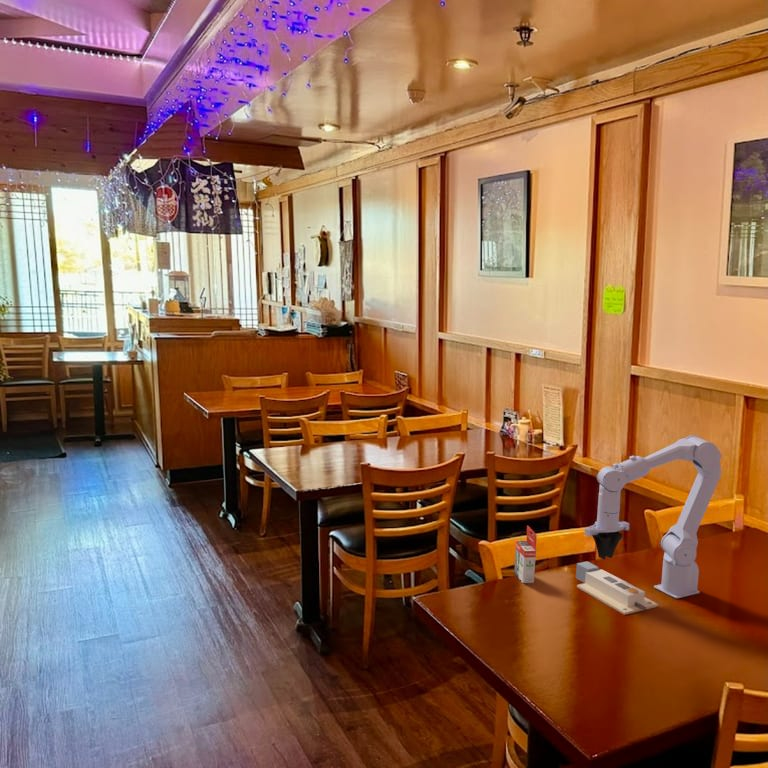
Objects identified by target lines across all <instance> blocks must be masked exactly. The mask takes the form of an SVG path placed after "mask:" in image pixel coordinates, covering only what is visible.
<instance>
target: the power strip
mask: <svg viewBox="0 0 768 768" xmlns="http://www.w3.org/2000/svg"><path fill="white" fill-rule="evenodd" d="M576 588H578V589H579V590H581V591H583V592H584V593H587V594H588V595H590V596H592V597H593V598H595V599H596V600H598V601H600V602H602V603H604V604H605V605H606V606H608V607H610V608H612V609H614V610H615V611H616V612H618V613H620V614H622V615H629V614H634V613H637V612H642V611H646V610H650V609H654V608H656V607H657V608H658V607H659V604H658V603H657V602H655V601H653V600H651V599H650V598H647V597H645V595H646V591H644V590H643V589H640V588H639V587H637V586H634V585H633V584H631V583H629V582H628V581H625V580H624V579H621V578H620V577H618V576H615V575H613V574H612V573H609V572H608V571H605V570H604V569H598V570H596V571H591V572H586V575H585V583H584V582H583V583H579V584H577V585H576Z"/></svg>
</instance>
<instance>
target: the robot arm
mask: <svg viewBox="0 0 768 768" xmlns="http://www.w3.org/2000/svg"><path fill="white" fill-rule="evenodd" d="M721 458H722V453H721V451H720V450H719V448H718V447H717V445H716V444H715V443H713V442H710V441H708V440H705V439H703V438H702V437H700V436H697V435H693V434H692V435H688V436H687V437H685V438H679V439H678V440H676V441H675V442H673V443H672V444H670V445H668V446H665V447H664V448H662V449H659V450H658V451H655V452H653V453H651V454H649V455H647V456H645V457H642V456H640V455H636V456H635V455H631V456H629V459H626V460H624V461H622V462H619V463H617V462H616V463H613V464H612V466H609V465H606V466H604V467H602V468H601V469H600V470H599V471H598V473H597V474H596V480H597V482H598V483H599V488H598V489H599V492H598V498H597V499H598V500H597V502H598V503H597V516H596V517H597V518H596V521H594V524H593V525H590V526H588V527H585V528H584V536H586V537H590V538H592V539H593V541H594V542H595V546H596V551H597V556H598V558H599V559H603V560H606V558H610V559H612V558H613V555H614V553H615V550H616V547H617V546H618V544H619V542H620V541H621V539H622V538H623V533H621V532H620V531H629V530H630V523H629V522H627V521H624V520H623V521H620V520H619V519H620V509H621V506H620V505H621V491H622V490H623V488H624V487H625V486H626V484H630V483H632V482H634V481H637V480H639V479H641V478H644V477H645V476H646V477H647V475H649V472H650V471H651V469H653V468H654V469H655V468H656V467H659V466H663V465H665V464H668V463H671V462H673V461H677V460H683V461H686V462H692V464H693V466H694V468H695V469H696V471H697V475H696V477H695V478H694V479H695V480H694V482H693V484H692V487H691V489H690V491H689V494H688V496H687V498H686V500H685V504H684V505H683V508H682V510H681V513H680V515H679V517H678V519H677V522H676V523H675V524H674V525H672V526H671V527H669V529H668V532H667V533H666V534H664V536H663V537H662V538H661V539H660V540H661V541H660V547H661V549H662V550H663V551H664V552H663V553H664V554H663V560H662V571H661V583H660V584H657V585H656V584H655V585H653V588H654V589H657V590H658V591H660V592H662V593H664V594H666V595H668V596H669V597H672V598H674V599H681V598H685V597H689V596H693V595H697V594H700V593H701V592H700V590H698V585H699V573H700V572H699V571H700V570H699V565H698V564H697V561H695V560H696V558H697V547H698V546H699V545H698V544H699V541H698V536H697V535H698V534H697V532H698V530H699V527H700V525H701V523H702V520H703V518H704V516H705V513H706V511H707V510H708V506H709V505H710V502H711V500H712V497H713V495H714V493H715V490H716V487H718V484H719V481H720V479H721V476H722V467H721Z"/></svg>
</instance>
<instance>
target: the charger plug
mask: <svg viewBox="0 0 768 768" xmlns="http://www.w3.org/2000/svg"><path fill="white" fill-rule="evenodd" d="M575 570H576V571H575V578H576V580H579V581H580V582H582V583H583V584H584V583H585V575H586V572H591V571H596V570H599V566H597V565H595V564H593V563H591V562H589V561H582V562H577V563H576V569H575Z"/></svg>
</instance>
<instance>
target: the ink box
mask: <svg viewBox="0 0 768 768" xmlns="http://www.w3.org/2000/svg"><path fill="white" fill-rule="evenodd" d="M536 554H537V534H536V533H535V531H534V530H533V529H532V528H531V527H530V526H529V525H526V540H516V541H515V556H514V557H515V559H514V571H513V572H514V574H515V575H516V577H517V578H518V579H519V581H520V580H521V581H520V582H521V583H522V584H534V582H535V570H536V557H537V556H536Z"/></svg>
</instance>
